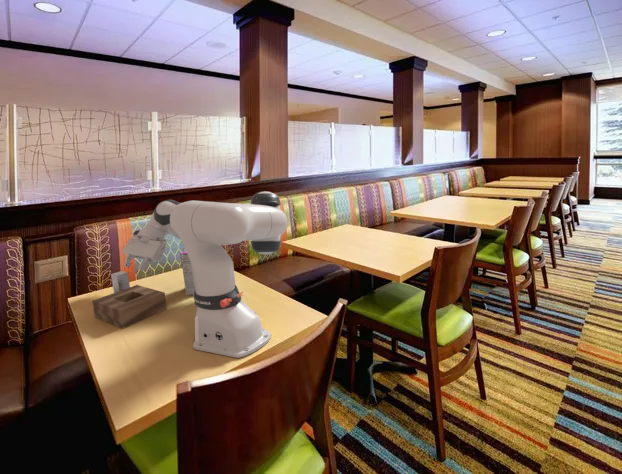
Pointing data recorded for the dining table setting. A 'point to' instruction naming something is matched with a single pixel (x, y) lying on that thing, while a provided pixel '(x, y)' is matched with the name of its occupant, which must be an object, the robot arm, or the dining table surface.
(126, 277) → the peg
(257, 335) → the robot arm
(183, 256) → the candy bar box
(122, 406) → the dining table surface
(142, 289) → the post socket
